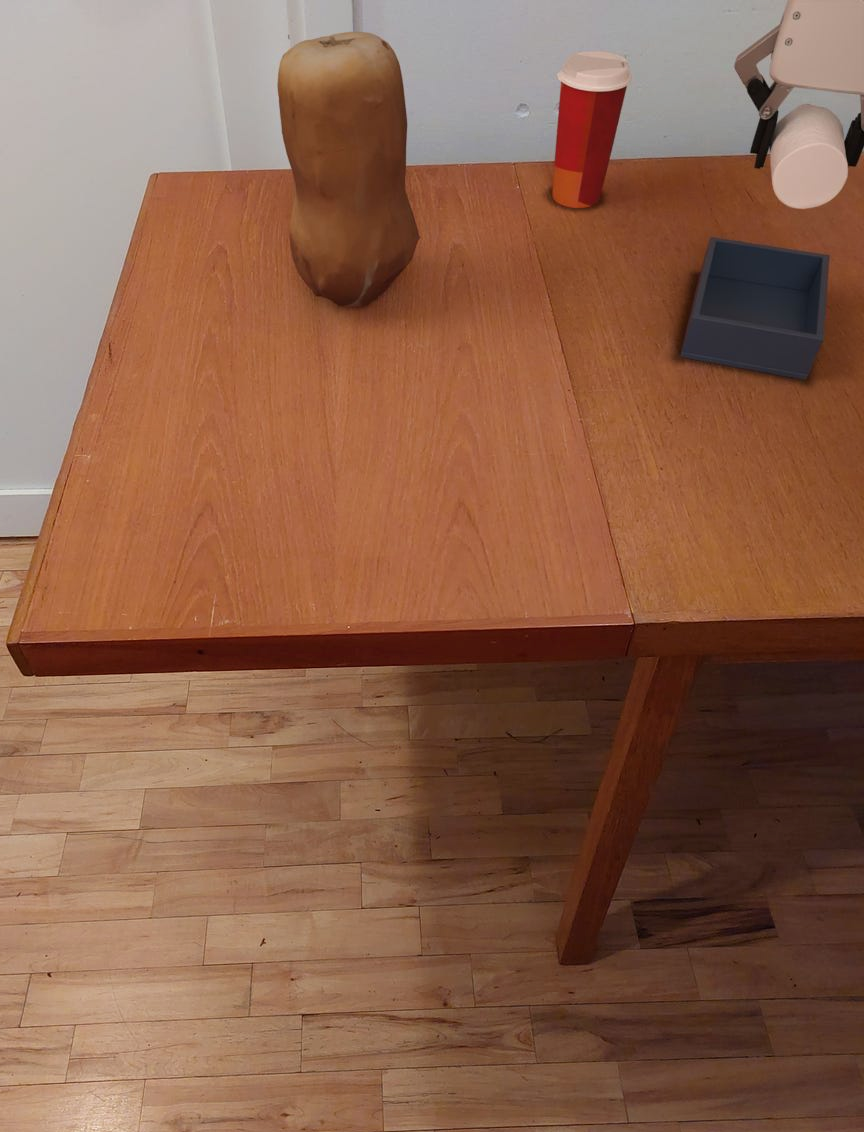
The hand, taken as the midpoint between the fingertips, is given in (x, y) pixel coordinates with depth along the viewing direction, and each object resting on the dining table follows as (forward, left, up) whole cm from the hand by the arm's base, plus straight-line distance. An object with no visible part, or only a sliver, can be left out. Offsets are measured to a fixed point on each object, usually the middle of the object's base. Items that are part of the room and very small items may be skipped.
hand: (799, 165), depth 80 cm
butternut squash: (+27, +31, -18) cm, 45 cm away
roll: (0, 0, -1) cm, 1 cm away
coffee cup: (+33, -4, -18) cm, 38 cm away
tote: (+1, -2, -17) cm, 18 cm away
